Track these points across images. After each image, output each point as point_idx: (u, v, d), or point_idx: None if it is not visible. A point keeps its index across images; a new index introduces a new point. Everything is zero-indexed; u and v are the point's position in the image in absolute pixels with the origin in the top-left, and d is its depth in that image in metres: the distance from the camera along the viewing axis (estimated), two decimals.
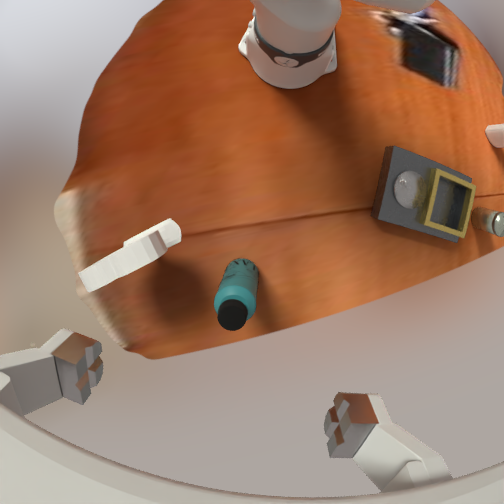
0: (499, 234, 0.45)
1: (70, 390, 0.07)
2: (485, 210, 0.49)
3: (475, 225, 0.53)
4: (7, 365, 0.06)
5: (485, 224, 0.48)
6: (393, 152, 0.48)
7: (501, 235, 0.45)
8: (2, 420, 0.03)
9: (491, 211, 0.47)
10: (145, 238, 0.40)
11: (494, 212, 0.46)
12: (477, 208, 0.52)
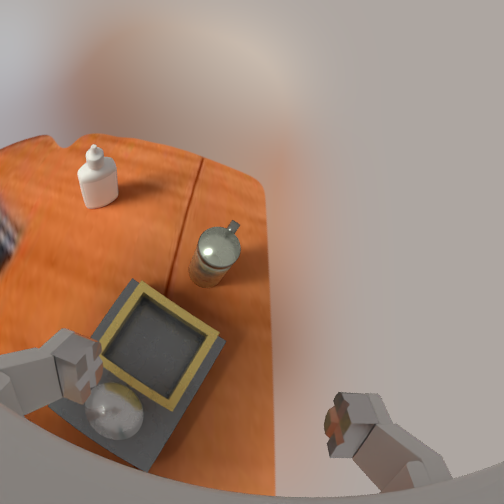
0: (234, 257, 0.35)
1: (70, 390, 0.07)
2: (192, 263, 0.39)
3: (214, 284, 0.41)
4: (7, 365, 0.06)
5: (212, 275, 0.37)
6: (56, 411, 0.25)
7: (237, 252, 0.36)
8: (2, 420, 0.03)
9: (195, 256, 0.37)
10: None
11: (196, 253, 0.36)
12: (189, 271, 0.41)
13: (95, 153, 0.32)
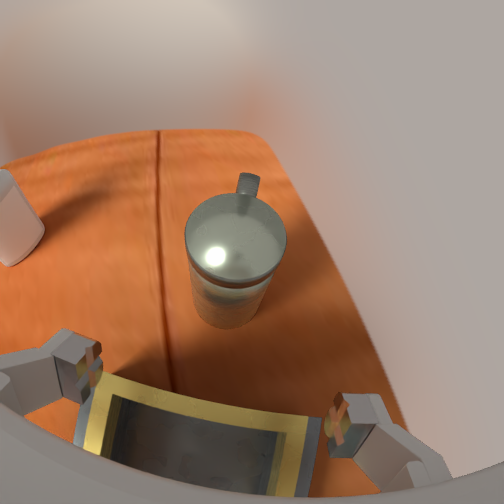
0: (278, 245, 0.15)
1: (70, 390, 0.07)
2: (195, 294, 0.18)
3: (251, 315, 0.21)
4: (7, 365, 0.06)
5: (242, 302, 0.17)
6: None
7: (280, 232, 0.15)
8: (2, 420, 0.03)
9: (192, 278, 0.17)
10: None
11: (192, 270, 0.16)
12: (197, 309, 0.21)
13: None
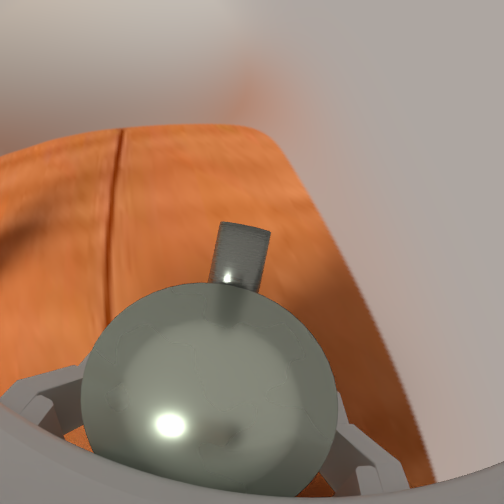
0: (317, 434, 0.05)
1: None
2: None
3: None
4: (46, 387, 0.06)
5: None
6: None
7: (324, 397, 0.05)
8: (2, 420, 0.03)
9: None
10: None
11: None
12: None
13: None
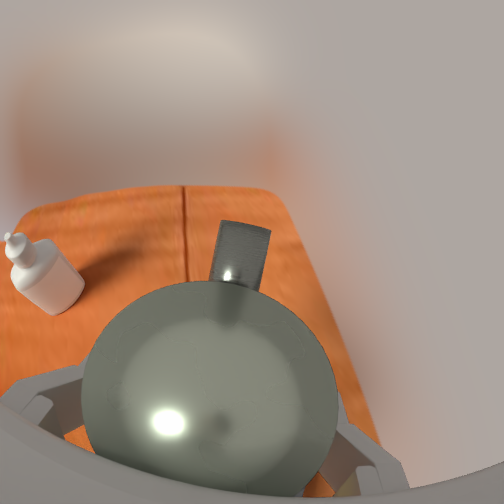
0: (318, 432, 0.05)
1: None
2: None
3: None
4: (46, 387, 0.06)
5: None
6: None
7: (325, 395, 0.05)
8: (2, 420, 0.03)
9: None
10: None
11: None
12: None
13: (14, 245, 0.18)
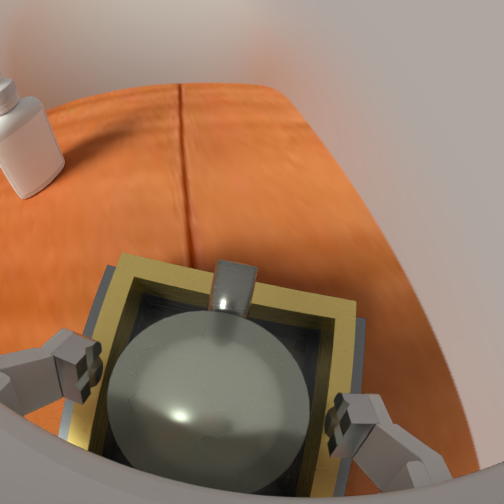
0: (292, 431, 0.06)
1: (70, 390, 0.07)
2: None
3: None
4: (7, 365, 0.06)
5: None
6: None
7: (298, 402, 0.07)
8: (2, 420, 0.03)
9: None
10: None
11: None
12: None
13: None
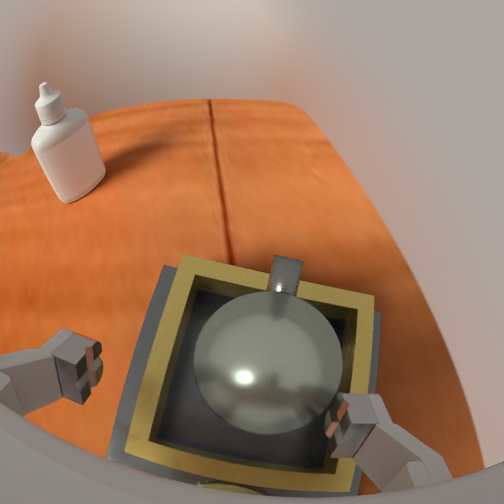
0: (331, 377, 0.09)
1: (70, 390, 0.07)
2: None
3: None
4: (7, 365, 0.06)
5: None
6: None
7: (334, 355, 0.10)
8: (2, 420, 0.03)
9: None
10: None
11: None
12: None
13: (47, 94, 0.16)
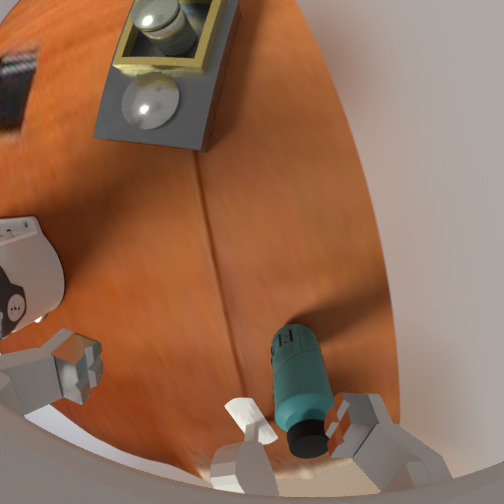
0: (171, 10, 0.21)
1: (70, 390, 0.07)
2: (149, 38, 0.26)
3: (186, 46, 0.29)
4: (7, 365, 0.06)
5: (166, 38, 0.25)
6: (101, 137, 0.31)
7: (174, 4, 0.21)
8: (2, 420, 0.03)
9: None
10: (212, 481, 0.28)
11: None
12: None
13: None
